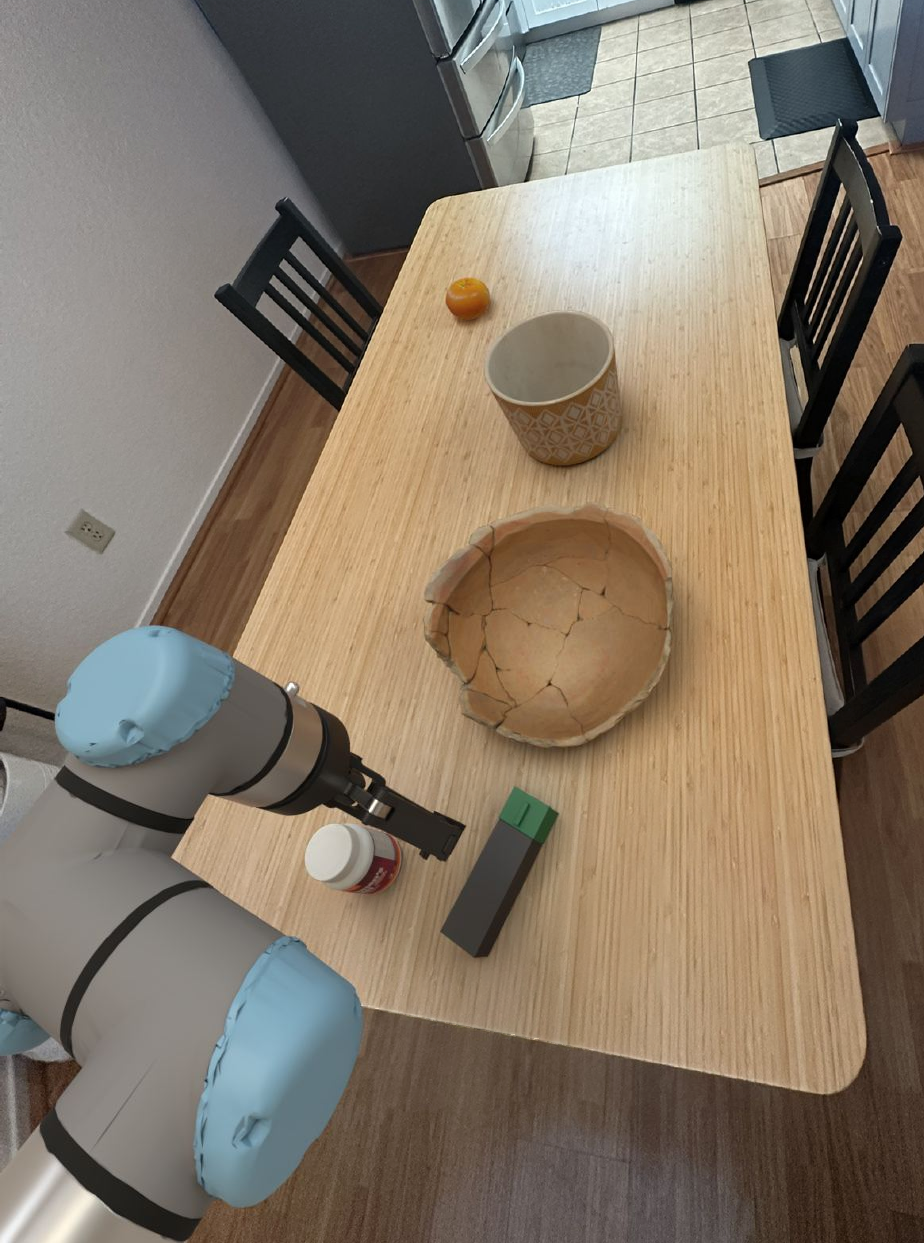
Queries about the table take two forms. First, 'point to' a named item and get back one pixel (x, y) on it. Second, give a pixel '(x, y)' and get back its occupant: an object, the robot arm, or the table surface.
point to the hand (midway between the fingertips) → (401, 802)
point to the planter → (557, 385)
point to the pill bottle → (353, 858)
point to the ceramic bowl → (554, 621)
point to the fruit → (468, 298)
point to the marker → (499, 874)
